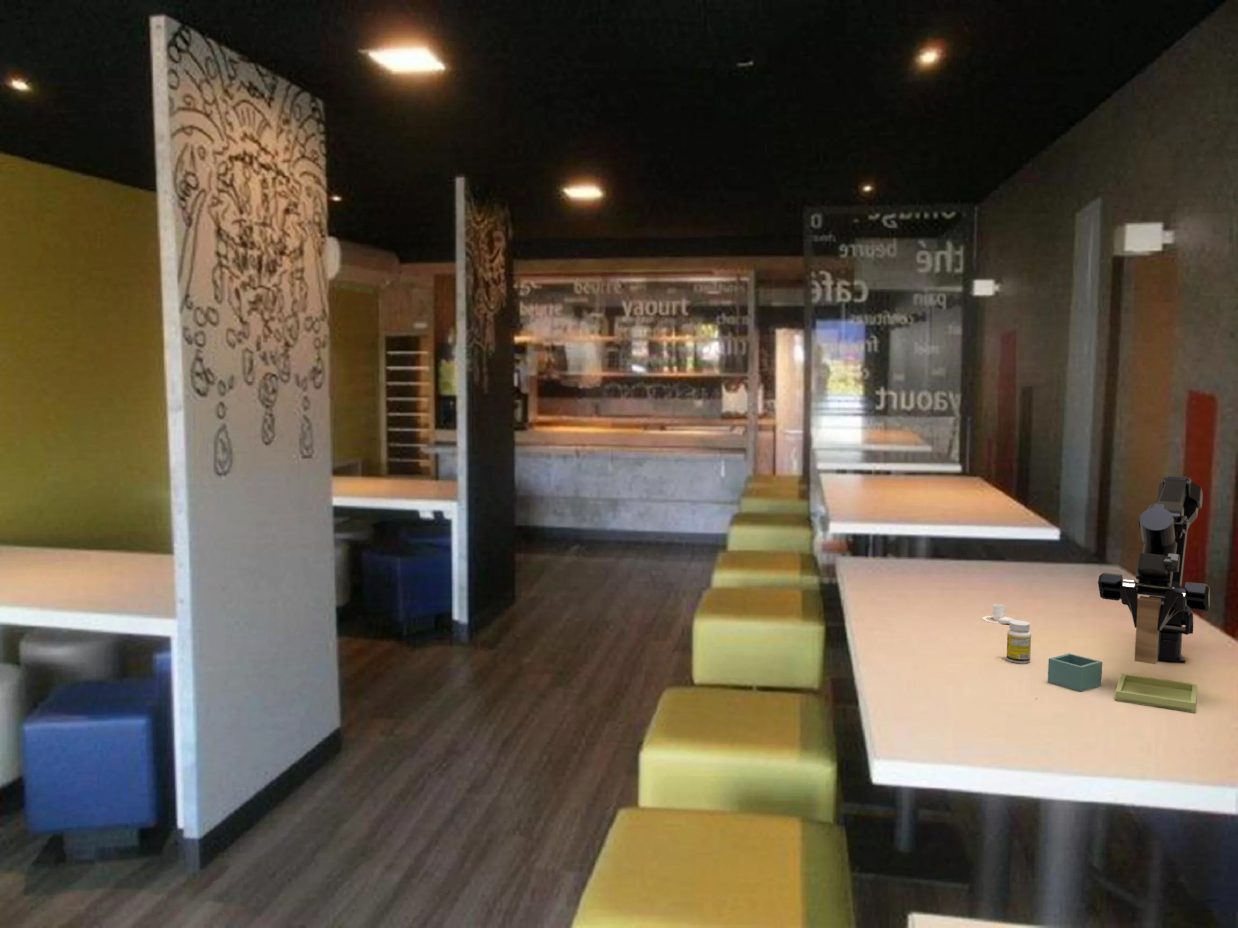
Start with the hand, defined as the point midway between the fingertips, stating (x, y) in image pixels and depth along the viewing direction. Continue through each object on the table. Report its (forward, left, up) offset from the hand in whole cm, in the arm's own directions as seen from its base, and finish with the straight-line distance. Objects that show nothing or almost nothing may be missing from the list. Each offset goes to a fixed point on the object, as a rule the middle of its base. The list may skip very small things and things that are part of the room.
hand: (1147, 628), depth 184 cm
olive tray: (-1, +2, -13) cm, 14 cm away
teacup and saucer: (-51, -27, -14) cm, 59 cm away
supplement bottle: (-17, -22, -14) cm, 31 cm away
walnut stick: (-1, 0, -7) cm, 7 cm away
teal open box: (-4, -12, -13) cm, 18 cm away
